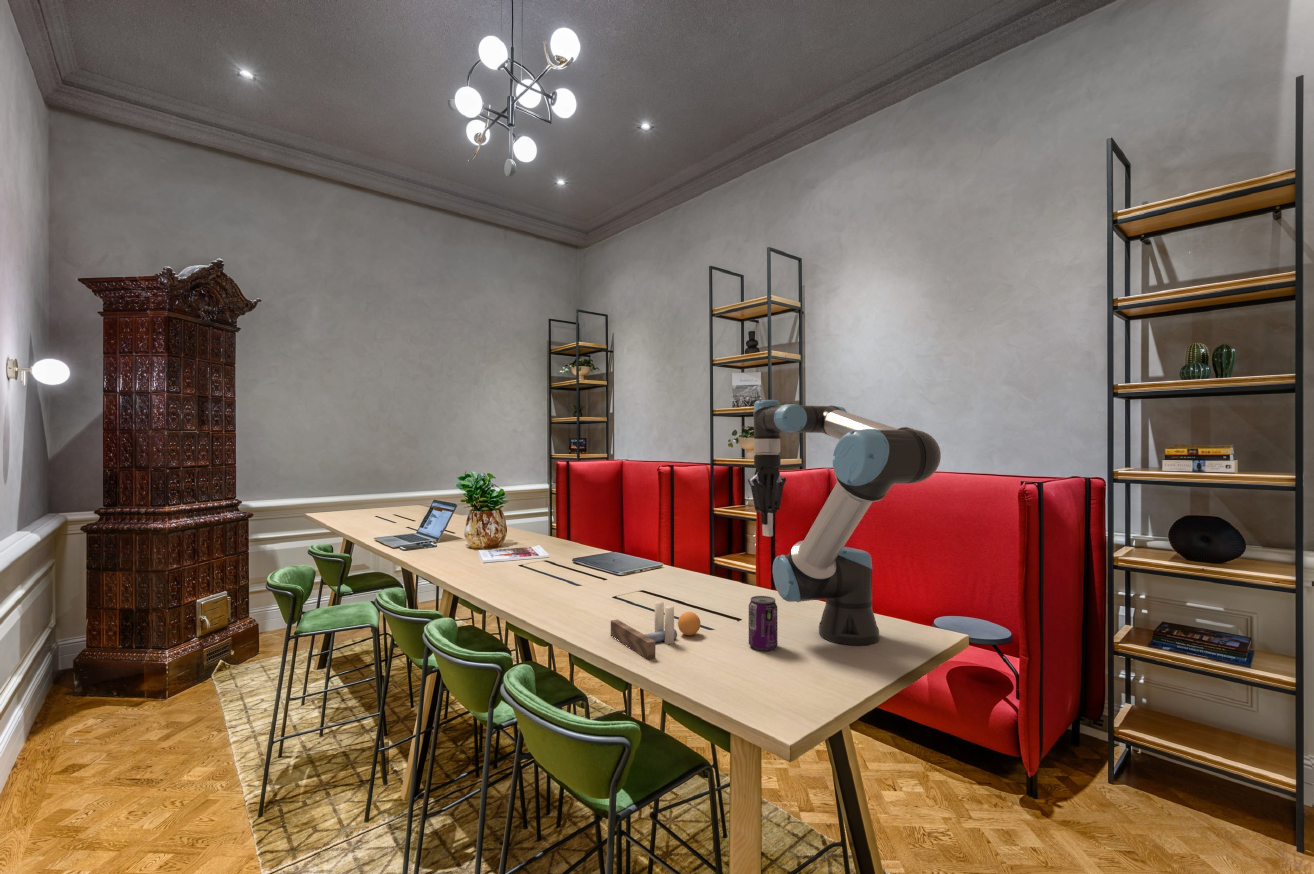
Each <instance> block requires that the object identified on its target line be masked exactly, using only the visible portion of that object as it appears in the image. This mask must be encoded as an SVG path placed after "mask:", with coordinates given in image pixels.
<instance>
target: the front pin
mask: <svg viewBox="0 0 1314 874" xmlns="http://www.w3.org/2000/svg"><path fill="white" fill-rule="evenodd" d="M644 635H645V636H647V637H649V638H651V639H652V640H654V641H655V644H657V643H659V642H661V643H662V642H665V630H664V631H661V632H655V631H654V632H651V633H646V634H644ZM677 637H678V632H677V630H676V629H675V628H674V640H676V639H677Z"/></svg>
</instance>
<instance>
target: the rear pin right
mask: <svg viewBox="0 0 1314 874" xmlns="http://www.w3.org/2000/svg"><path fill="white" fill-rule="evenodd" d="M661 631H665V602H664V601H655V602H654V633H655V632H661Z"/></svg>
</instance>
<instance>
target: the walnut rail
mask: <svg viewBox="0 0 1314 874" xmlns="http://www.w3.org/2000/svg"><path fill="white" fill-rule="evenodd" d="M611 635H612V636H614V637H615V638H616V639H615V638H614V639H615V640H617V639H618V640H619V641H618V640H617V641H618V642H619V643H621V642H622V643H621V644H623V643H624V644H625V646H626V645H627V646H628V648H629V647H630V648H629V649H631V650H632V649H633V650H632V651H634V652H635V651H636V652H635V653H637V654H638V653H639V655H640V656H641V655H642V657H643V658H644V657H645V660H648V661H650V660H653V659H656V643H655V641H654V640H652V639H651V638H649V637H647V636H645V635H644V634H643V633H642V632H640V631H639V630H637V629H635V628H633V627H631V626H630V625H628V624H626V623H624V622H623V621H621V620H620V619H616V618H615V619H612V620H610V636H611ZM612 636H611V637H612ZM624 644H623V645H624ZM627 646H626V647H627Z"/></svg>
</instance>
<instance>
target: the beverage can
mask: <svg viewBox="0 0 1314 874" xmlns="http://www.w3.org/2000/svg"><path fill="white" fill-rule="evenodd" d="M778 642H779V641H778V605H777V603H776V598H774V597H771V596H768V595H754V596H751V597H750V602H749V603H748V645H749V646H750V647H752V648H753V649H755V650H759V651H771V650H773V649H775V648H777V647H778V644H779V643H778Z"/></svg>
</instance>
